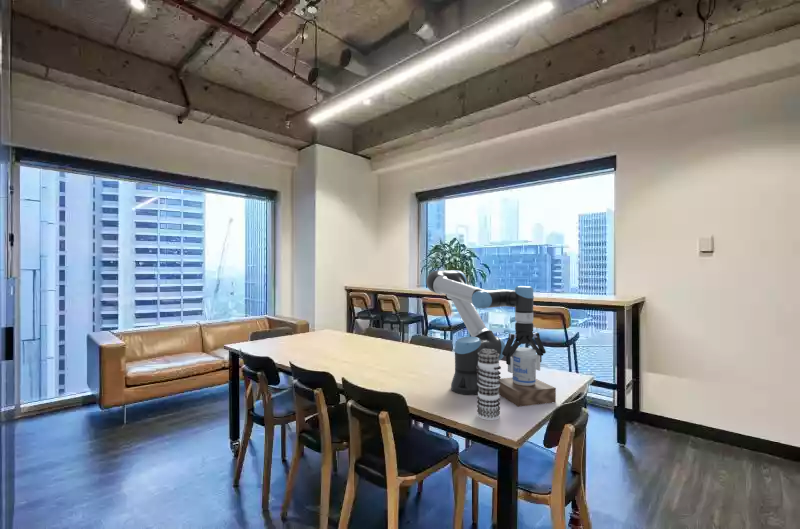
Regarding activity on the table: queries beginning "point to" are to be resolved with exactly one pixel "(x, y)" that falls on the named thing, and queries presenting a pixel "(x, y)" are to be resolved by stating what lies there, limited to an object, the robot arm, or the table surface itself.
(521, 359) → the supplement tub
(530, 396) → the walnut riser
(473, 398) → the table surface
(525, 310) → the robot arm
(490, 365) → the decorative candle
